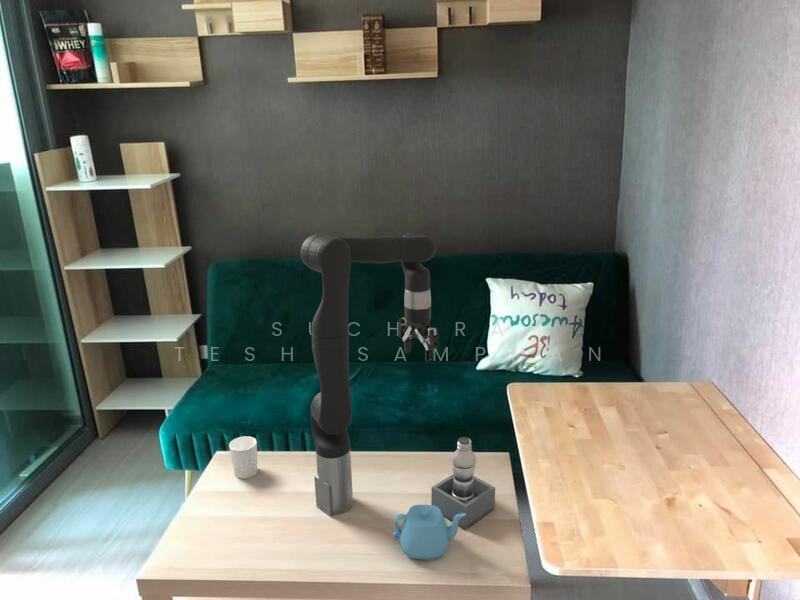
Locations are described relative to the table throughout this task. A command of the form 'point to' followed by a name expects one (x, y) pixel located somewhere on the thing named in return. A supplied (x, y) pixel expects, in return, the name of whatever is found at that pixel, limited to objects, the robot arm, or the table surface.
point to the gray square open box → (473, 508)
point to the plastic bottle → (463, 471)
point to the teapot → (425, 532)
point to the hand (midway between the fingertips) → (418, 356)
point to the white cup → (244, 456)
